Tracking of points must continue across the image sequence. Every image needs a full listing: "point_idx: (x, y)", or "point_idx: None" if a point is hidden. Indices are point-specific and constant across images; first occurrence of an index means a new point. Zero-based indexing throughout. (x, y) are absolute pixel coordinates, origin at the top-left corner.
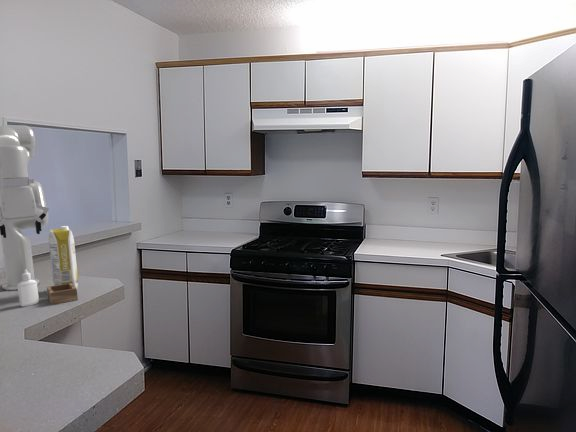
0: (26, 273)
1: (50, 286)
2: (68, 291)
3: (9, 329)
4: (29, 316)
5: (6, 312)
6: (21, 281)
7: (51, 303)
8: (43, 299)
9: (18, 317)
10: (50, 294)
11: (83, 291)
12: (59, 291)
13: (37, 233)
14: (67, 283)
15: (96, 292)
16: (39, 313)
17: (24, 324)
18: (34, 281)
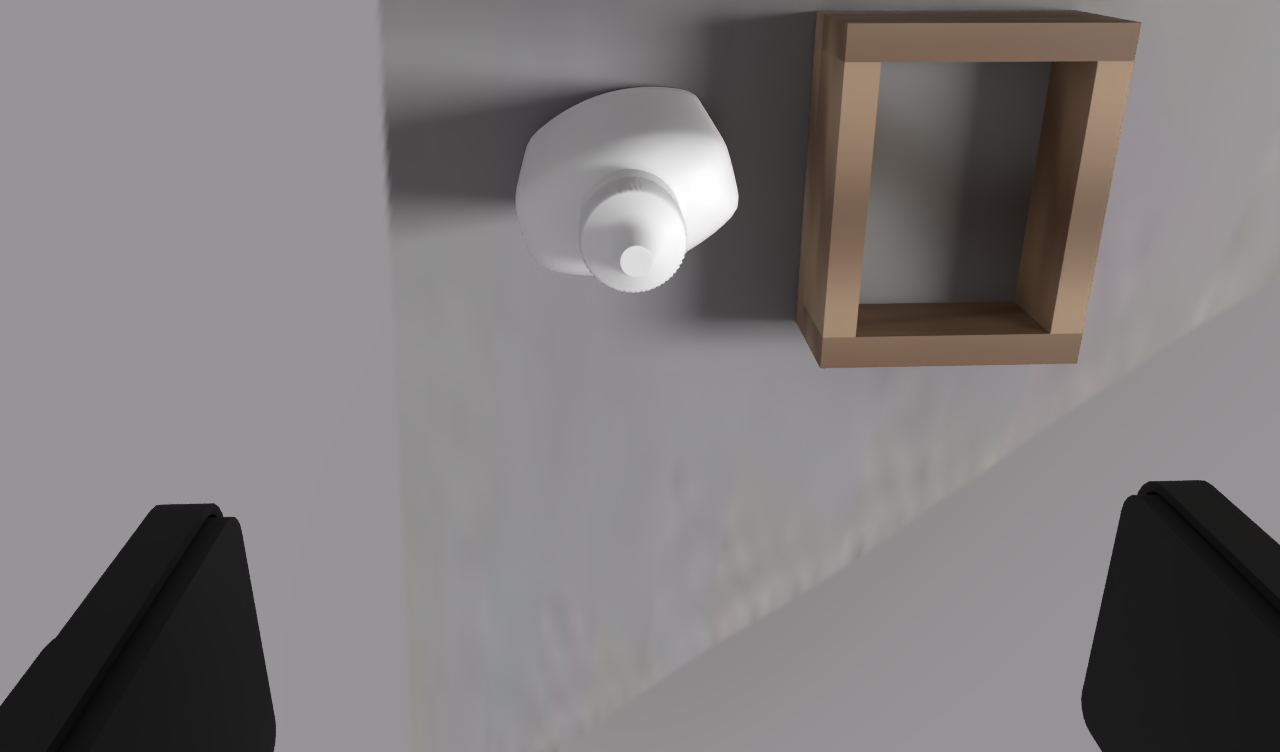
0: (636, 280)
1: (890, 36)
2: (988, 358)
3: (442, 728)
4: (583, 532)
5: (408, 284)
6: (564, 198)
7: (799, 296)
8: (767, 36)
9: (504, 503)
10: (818, 330)
11: (1196, 4)
12: (908, 360)
13: (1086, 721)
14: (1092, 29)
15: (1267, 160)
16: (661, 504)
17: (537, 689)
18: (713, 231)
